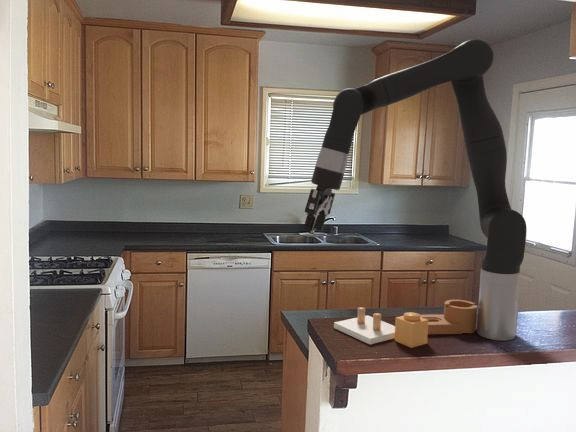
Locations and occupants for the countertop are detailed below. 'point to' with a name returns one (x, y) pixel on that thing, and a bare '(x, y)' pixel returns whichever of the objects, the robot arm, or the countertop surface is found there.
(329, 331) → the countertop surface
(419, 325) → the cube with dome top
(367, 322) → the plate
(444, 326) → the bracket
